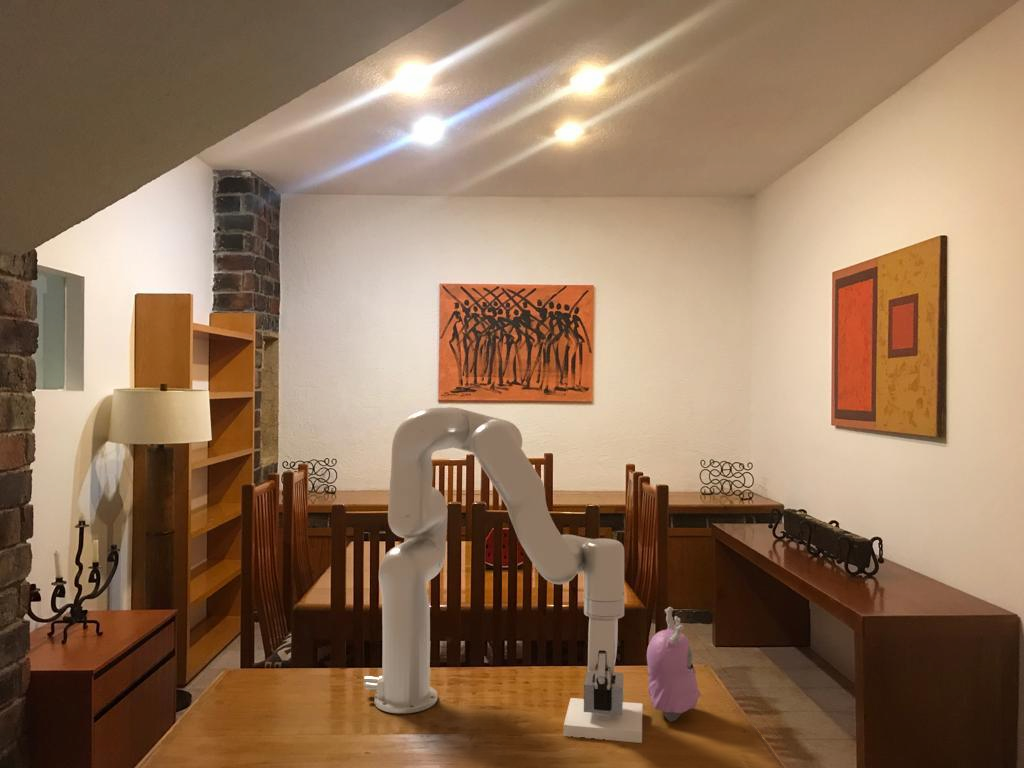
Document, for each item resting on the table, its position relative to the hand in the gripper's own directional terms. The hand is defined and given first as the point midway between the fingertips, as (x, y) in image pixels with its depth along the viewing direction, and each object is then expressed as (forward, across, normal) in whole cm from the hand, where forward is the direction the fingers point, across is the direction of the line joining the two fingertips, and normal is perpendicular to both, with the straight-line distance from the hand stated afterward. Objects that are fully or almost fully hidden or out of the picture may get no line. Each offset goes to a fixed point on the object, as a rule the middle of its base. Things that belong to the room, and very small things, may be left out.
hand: (603, 700), depth 137 cm
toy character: (+5, -7, +13) cm, 16 cm away
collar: (+1, 0, 0) cm, 1 cm away
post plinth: (+5, 0, 0) cm, 5 cm away
